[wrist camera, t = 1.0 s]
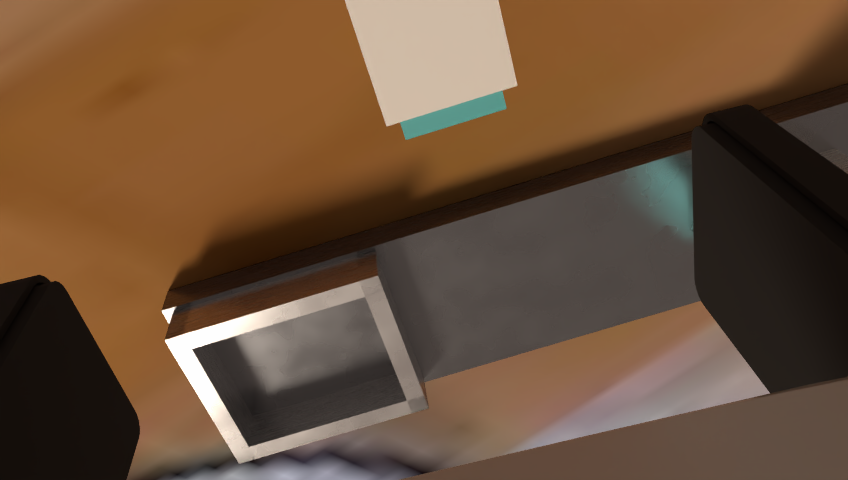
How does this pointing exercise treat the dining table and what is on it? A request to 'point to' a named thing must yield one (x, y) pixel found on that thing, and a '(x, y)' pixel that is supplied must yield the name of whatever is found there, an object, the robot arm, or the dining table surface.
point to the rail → (450, 291)
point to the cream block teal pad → (434, 60)
